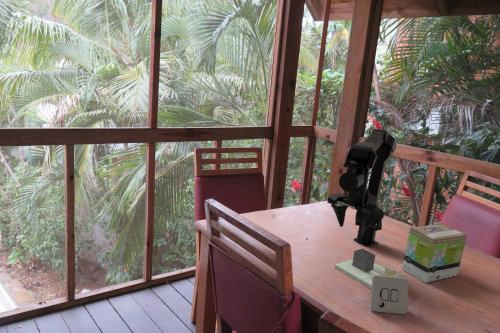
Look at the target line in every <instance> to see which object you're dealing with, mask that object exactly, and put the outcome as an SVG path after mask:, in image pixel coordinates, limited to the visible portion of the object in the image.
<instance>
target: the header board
mask: <svg viewBox="0 0 500 333" xmlns="http://www.w3.org/2000/svg"><path fill="white" fill-rule="evenodd" d="M352 263H353V258H352V259H348V260H346V261H345V260H344V261H341V262H338V263H335V264H334V268H335V269H336V270H337V271H340V272H342V273H343V274H345V275H346V276H348V277H350V278H351V279H353V280H355V281H356V282H358V283H360V284H361V285H363V286H365V287H367V288H369V289H370V290H371V288H372V276H373V275H383V276H393V277H402V278H404V277H403V276H404V274H403V273H402V272H400V271H398V270H397V269H395V268H393V267H390V266H388V265H386V266H385V267H383V266H381V265H379V264H377V263H375V262H374V267H373V270H370V271H367V272H363V271H361V270H360V269H358V268H356V267H354V266H352Z"/></svg>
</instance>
